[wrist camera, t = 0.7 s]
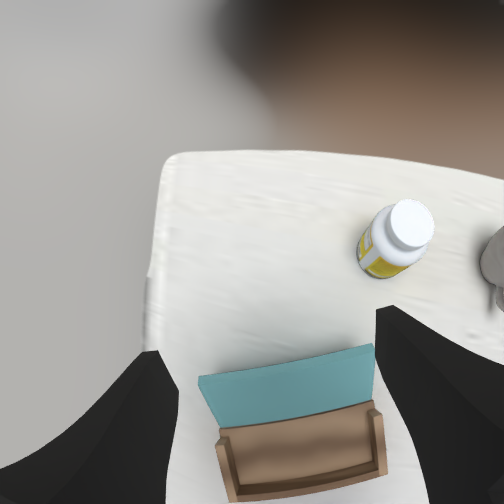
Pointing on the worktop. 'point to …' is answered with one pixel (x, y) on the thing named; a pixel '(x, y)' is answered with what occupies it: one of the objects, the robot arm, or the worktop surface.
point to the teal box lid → (291, 388)
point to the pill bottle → (395, 239)
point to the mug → (495, 265)
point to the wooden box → (302, 453)
